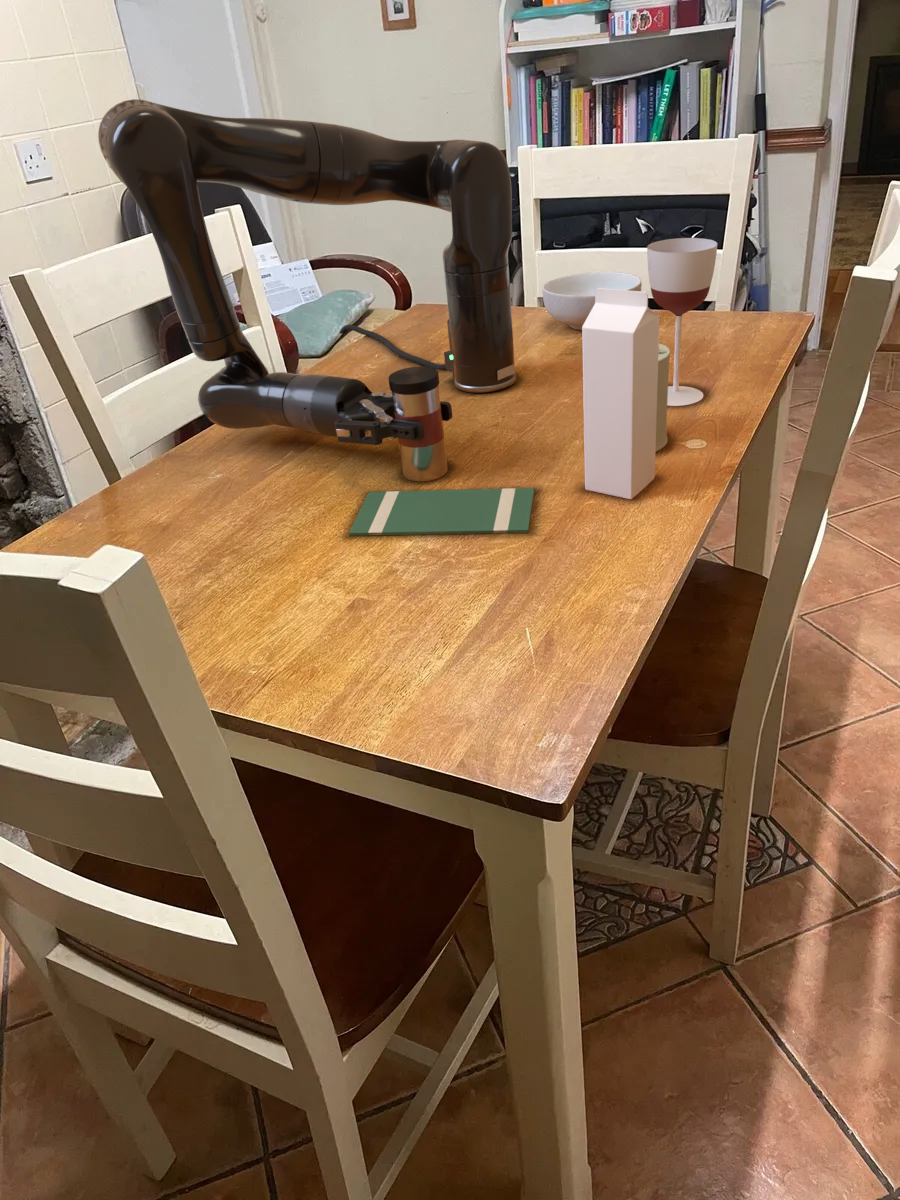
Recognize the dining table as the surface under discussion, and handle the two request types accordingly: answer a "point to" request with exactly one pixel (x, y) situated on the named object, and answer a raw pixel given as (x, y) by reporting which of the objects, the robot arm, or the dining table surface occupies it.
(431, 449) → the jar
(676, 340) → the wineglass
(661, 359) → the can
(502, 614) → the dining table surface
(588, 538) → the dining table surface
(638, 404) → the milk
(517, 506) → the towel
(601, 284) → the cereal bowl
